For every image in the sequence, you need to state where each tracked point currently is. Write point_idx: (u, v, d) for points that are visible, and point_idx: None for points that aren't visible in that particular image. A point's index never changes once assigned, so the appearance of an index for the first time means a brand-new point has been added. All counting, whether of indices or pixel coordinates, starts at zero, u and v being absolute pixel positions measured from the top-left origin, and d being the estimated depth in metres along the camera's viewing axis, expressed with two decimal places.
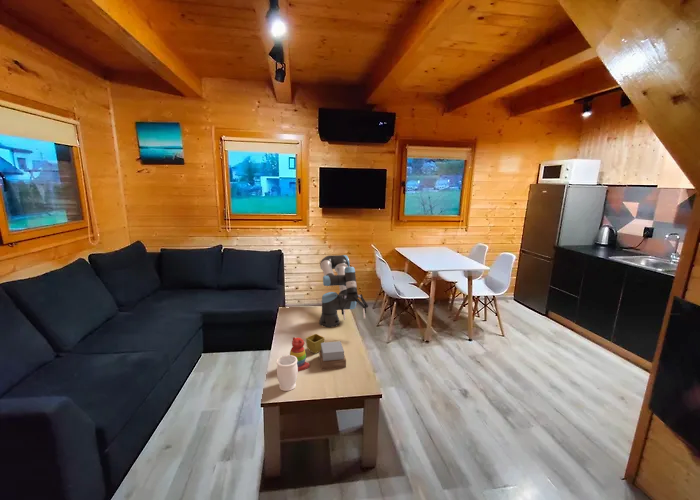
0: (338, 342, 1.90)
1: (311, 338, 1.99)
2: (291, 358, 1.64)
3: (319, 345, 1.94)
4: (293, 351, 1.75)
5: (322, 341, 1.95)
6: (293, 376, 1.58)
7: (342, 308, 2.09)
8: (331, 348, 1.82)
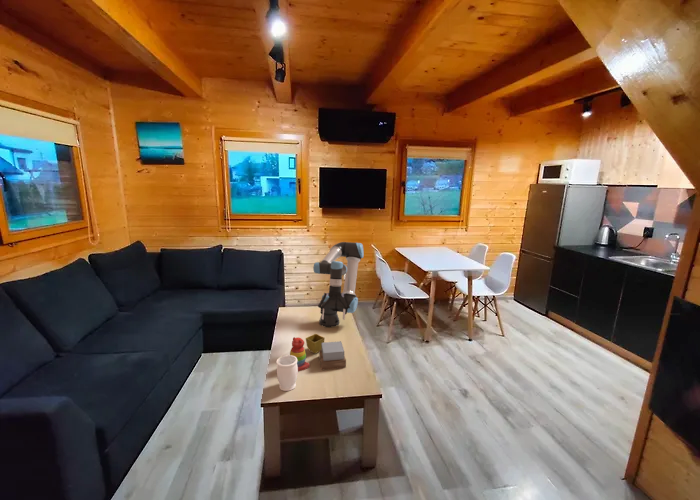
0: (338, 342, 1.90)
1: (311, 338, 1.99)
2: (291, 358, 1.64)
3: (319, 345, 1.94)
4: (293, 351, 1.75)
5: (322, 341, 1.95)
6: (293, 376, 1.58)
7: (322, 307, 1.94)
8: (331, 348, 1.82)
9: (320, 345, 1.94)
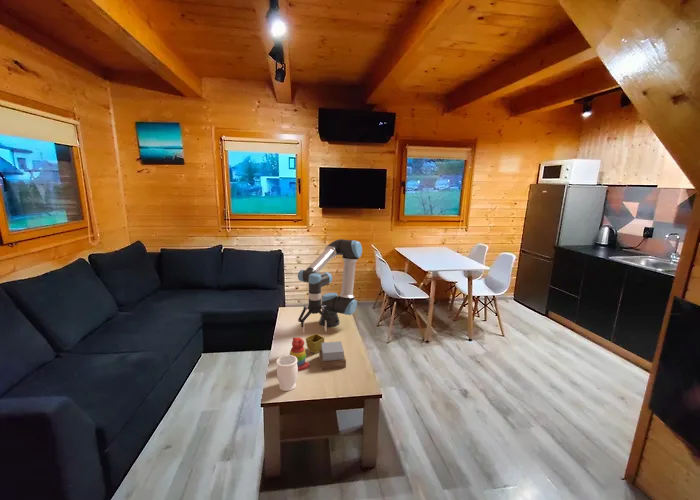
0: (338, 342, 1.89)
1: (311, 338, 1.99)
2: (291, 358, 1.64)
3: (319, 345, 1.94)
4: (293, 351, 1.75)
5: (322, 341, 1.95)
6: (293, 376, 1.58)
7: (302, 322, 1.90)
8: (331, 348, 1.82)
9: (320, 345, 1.94)
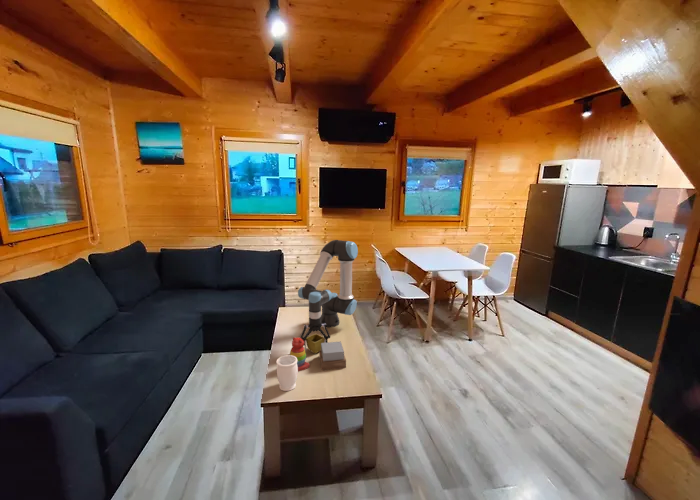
0: (338, 342, 1.89)
1: (311, 338, 1.99)
2: (291, 358, 1.64)
3: (319, 345, 1.94)
4: (293, 351, 1.75)
5: (322, 341, 1.95)
6: (293, 376, 1.58)
7: (303, 340, 1.93)
8: (331, 348, 1.82)
9: (320, 345, 1.94)
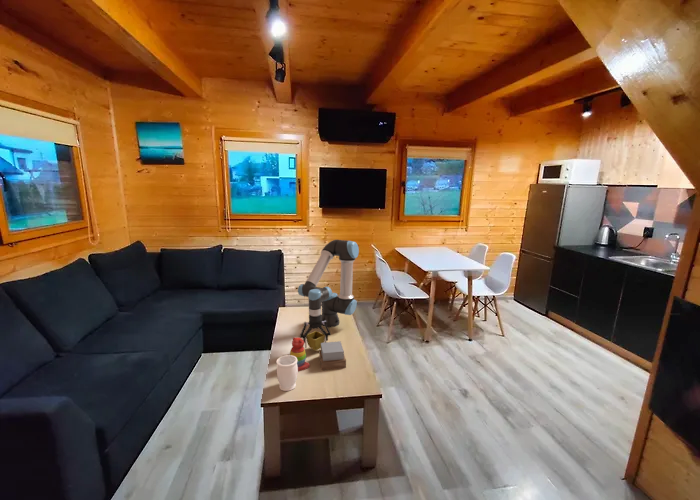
0: (338, 342, 1.90)
1: (312, 335, 1.99)
2: (291, 358, 1.64)
3: (319, 342, 1.94)
4: (293, 351, 1.75)
5: (322, 338, 1.95)
6: (293, 376, 1.58)
7: (304, 337, 1.93)
8: (331, 348, 1.82)
9: (320, 342, 1.94)
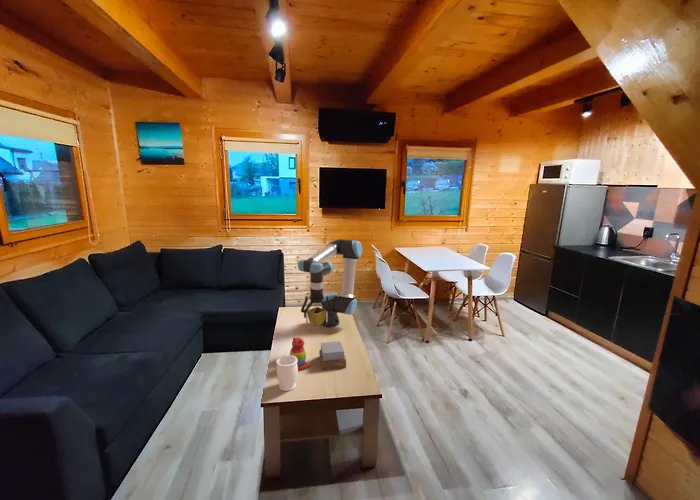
0: (338, 342, 1.90)
1: (313, 311, 1.93)
2: (291, 358, 1.64)
3: (321, 317, 1.88)
4: (293, 351, 1.75)
5: (324, 313, 1.89)
6: (293, 376, 1.58)
7: (304, 312, 1.88)
8: (331, 348, 1.82)
9: (322, 317, 1.89)
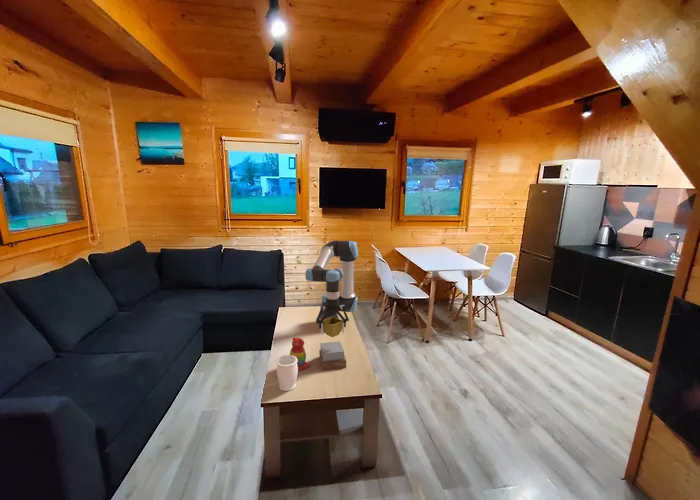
0: (337, 342, 1.89)
1: (328, 321, 1.83)
2: (291, 358, 1.64)
3: (337, 328, 1.78)
4: (293, 351, 1.75)
5: (340, 324, 1.79)
6: (293, 376, 1.58)
7: (320, 323, 1.78)
8: (331, 348, 1.82)
9: (338, 328, 1.79)
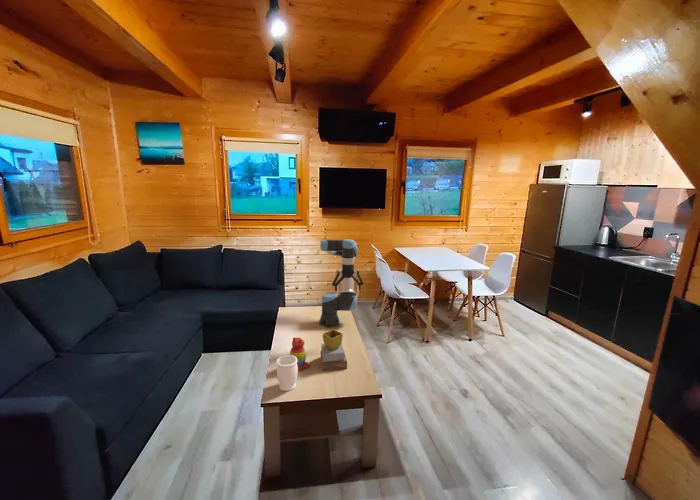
0: None
1: (328, 334, 1.85)
2: (291, 358, 1.64)
3: (337, 341, 1.79)
4: (293, 351, 1.75)
5: (340, 337, 1.80)
6: (293, 376, 1.58)
7: (336, 285, 1.99)
8: None
9: (338, 341, 1.80)
